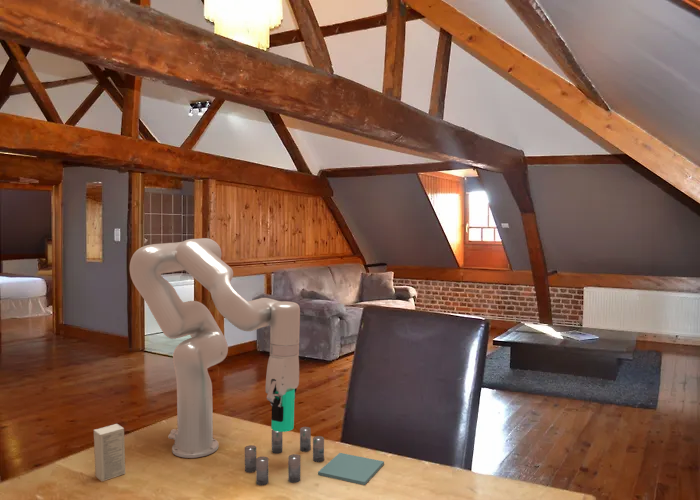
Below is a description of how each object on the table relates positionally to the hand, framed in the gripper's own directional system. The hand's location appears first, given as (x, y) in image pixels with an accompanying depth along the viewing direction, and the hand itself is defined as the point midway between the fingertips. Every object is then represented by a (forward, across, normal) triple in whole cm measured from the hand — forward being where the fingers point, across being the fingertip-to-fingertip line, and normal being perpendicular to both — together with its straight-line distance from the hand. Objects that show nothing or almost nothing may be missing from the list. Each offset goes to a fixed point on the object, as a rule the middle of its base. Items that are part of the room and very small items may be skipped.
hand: (282, 416), depth 153 cm
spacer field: (+13, 0, +1) cm, 13 cm away
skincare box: (+14, +24, -36) cm, 45 cm away
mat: (+12, -5, +18) cm, 23 cm away
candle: (+3, 0, 0) cm, 3 cm away
